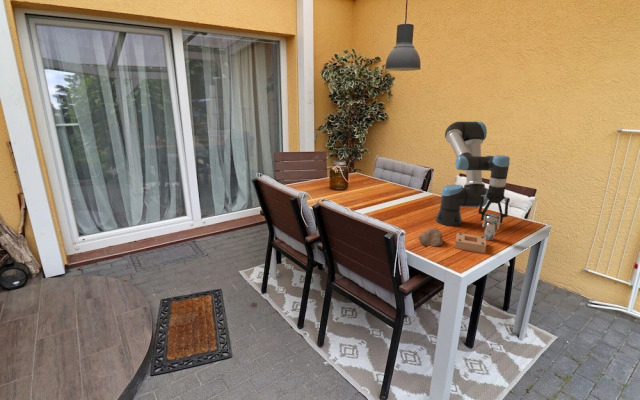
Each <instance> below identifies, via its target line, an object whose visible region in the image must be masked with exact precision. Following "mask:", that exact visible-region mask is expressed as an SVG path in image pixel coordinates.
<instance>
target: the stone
mask: <svg viewBox="0 0 640 400" xmlns="http://www.w3.org/2000/svg"><path fill="white" fill-rule="evenodd" d="M418 240H419V243H421V244H422V245H424V246H425V247H428V246H430V247H440V246H441V245H443V242H444V239H443V233H442V232H441V231H440V229H438V228H437V227H436V228H435V227H432V228H428V229H427V230H425V231H424V232H421V234H419V236H418Z"/></svg>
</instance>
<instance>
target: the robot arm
mask: <svg viewBox="0 0 640 400" xmlns="http://www.w3.org/2000/svg"><path fill="white" fill-rule="evenodd" d="M487 135H488V130H487V126H486V124H485V123H484V122H483V121H477V120H476V121H455V122H453V123H451V124H450V125H448V127H447V128H446V129H445V133H444V138H445V140H446V142H447V143H449V145H450V147H451V149H452V150H453V153H454V155H455V156H456V158H455V162H454V163H455V164H454V165H455V168H456V170H458V171H466V172H465V174H466V183H465V184H463V185H462V184H448V185H447V184H446V185H445V186H444V187H442V191H441V197H440V198H441V199H440V205H439V210H438V212H437V215H436V216H435V222H437V223H438V224H440V225H443V226H449V227H457V226H461V225H462V222H463V219H462V214H461V207H463V208H464V207H465V208H467V207H468V208H478V214H480V215H481V217H480V218H481V219H480V220H481V221H482V228H485V225H486V221H485V218H486V214H487V211H488V209H489V207H490V206H491V204H497V205H498V206H497V207H498V211H499V214H500V215H498V216H499V220H498V223H496V229H497V230H499V229H500V224H502V223H503V219H504V218H507V217H508V211H509V203H510V201H511V199H510V197H506V196H505V192H506V191H505V189H506V186H507V179H508V174H509V168H510V163H511V162H510V161H511V158H510V156H507V155H502V154H499V155H498V154H496V155H486V156H485V155H484V156H482V149H481V147H482V146H481V145H482V144H483V143H484V141H485V139H486V138H487ZM482 171H488V172H489V171H490V177H489V181H488V182H489V183H488V188H487V187H486V184H485V183H483V177H482V175H483V174H482ZM503 200H504V213H503V209H502V204H501V202H503ZM483 207H484V208H483Z"/></svg>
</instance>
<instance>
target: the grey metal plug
mask: <svg viewBox="0 0 640 400" xmlns="http://www.w3.org/2000/svg"><path fill="white" fill-rule="evenodd" d="M485 214H486V218H485V225H484V235H483V237H486V241H493V240H495V239H494V238H495V233H496V229H497V223H498V220H499V216H500V215H497V214H494V213H485Z"/></svg>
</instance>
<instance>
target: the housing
mask: <svg viewBox="0 0 640 400" xmlns="http://www.w3.org/2000/svg"><path fill="white" fill-rule="evenodd" d="M455 236H456V238H455V241H454V242H455V245H454V249H457V250H463V251H469V252H475V253H481V254H485V253H486V250H487V249H486V248H487V239H486V237H484V235H475V234H468V233H462V232H456V235H455Z"/></svg>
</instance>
